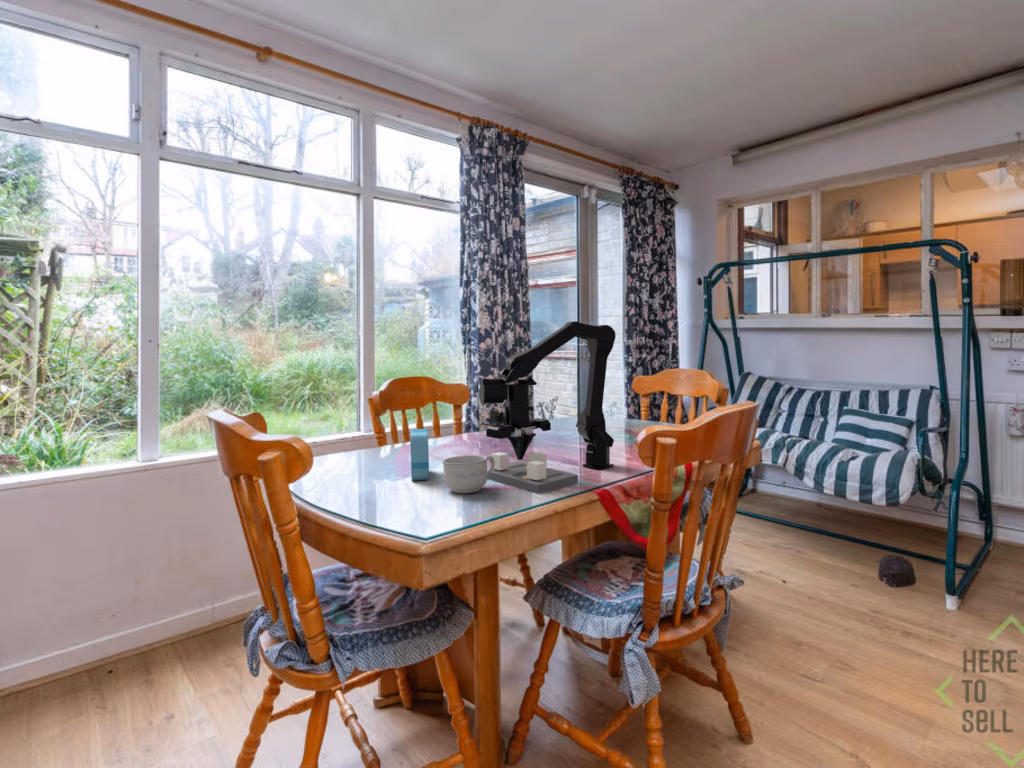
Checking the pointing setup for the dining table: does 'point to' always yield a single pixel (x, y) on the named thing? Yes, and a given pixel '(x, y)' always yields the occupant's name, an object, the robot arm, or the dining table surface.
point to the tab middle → (538, 457)
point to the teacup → (467, 472)
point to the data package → (419, 454)
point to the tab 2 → (536, 470)
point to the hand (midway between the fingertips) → (520, 459)
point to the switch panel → (519, 479)
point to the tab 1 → (501, 461)
